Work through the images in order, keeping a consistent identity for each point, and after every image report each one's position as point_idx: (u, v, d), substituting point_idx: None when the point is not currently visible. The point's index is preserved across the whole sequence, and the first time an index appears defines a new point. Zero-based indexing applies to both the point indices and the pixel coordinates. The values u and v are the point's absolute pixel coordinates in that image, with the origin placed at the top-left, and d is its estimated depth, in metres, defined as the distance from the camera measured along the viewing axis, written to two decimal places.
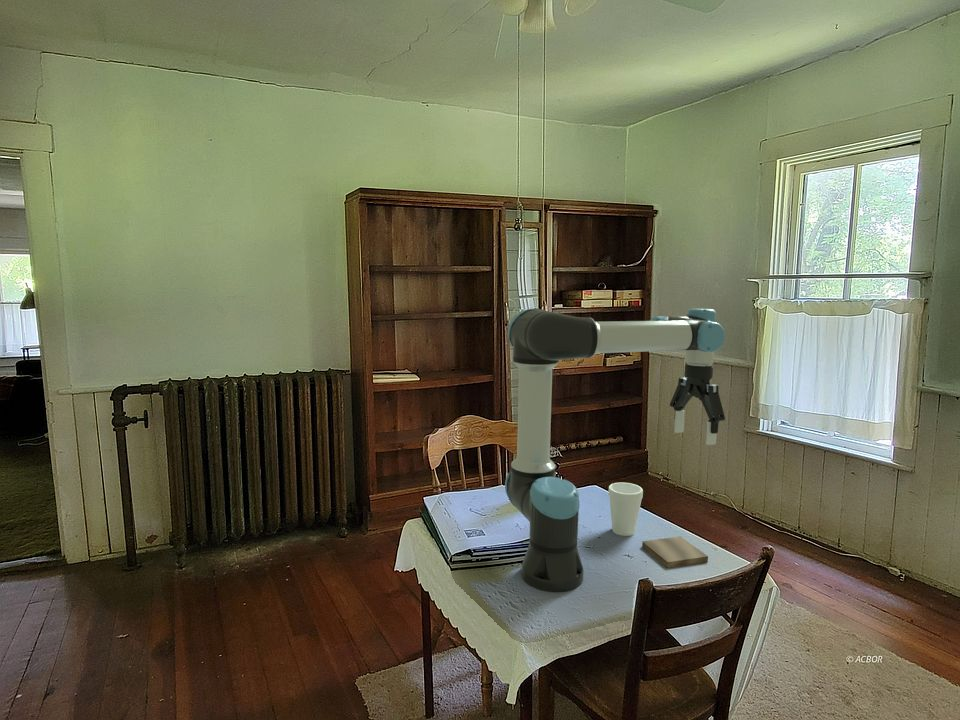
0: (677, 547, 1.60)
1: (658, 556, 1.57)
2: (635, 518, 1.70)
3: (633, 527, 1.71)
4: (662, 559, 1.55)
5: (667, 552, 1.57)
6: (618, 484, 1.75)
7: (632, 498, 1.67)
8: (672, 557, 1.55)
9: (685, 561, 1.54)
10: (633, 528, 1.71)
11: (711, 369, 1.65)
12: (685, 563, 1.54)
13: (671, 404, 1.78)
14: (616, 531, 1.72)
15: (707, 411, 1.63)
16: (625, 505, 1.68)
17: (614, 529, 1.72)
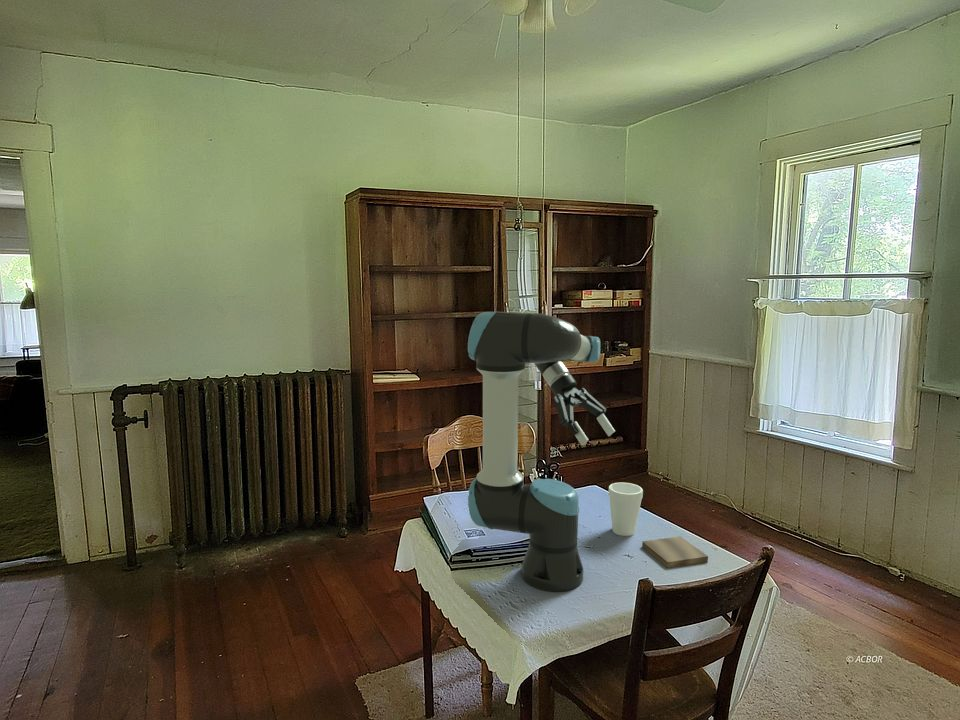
0: (677, 547, 1.60)
1: (658, 556, 1.57)
2: (635, 518, 1.70)
3: (633, 527, 1.71)
4: (662, 559, 1.55)
5: (667, 552, 1.57)
6: (618, 484, 1.75)
7: (632, 498, 1.67)
8: (672, 557, 1.55)
9: (685, 561, 1.54)
10: (633, 528, 1.71)
11: None
12: (685, 563, 1.54)
13: (567, 419, 1.72)
14: (616, 531, 1.72)
15: (596, 407, 1.83)
16: (625, 505, 1.68)
17: (614, 529, 1.72)
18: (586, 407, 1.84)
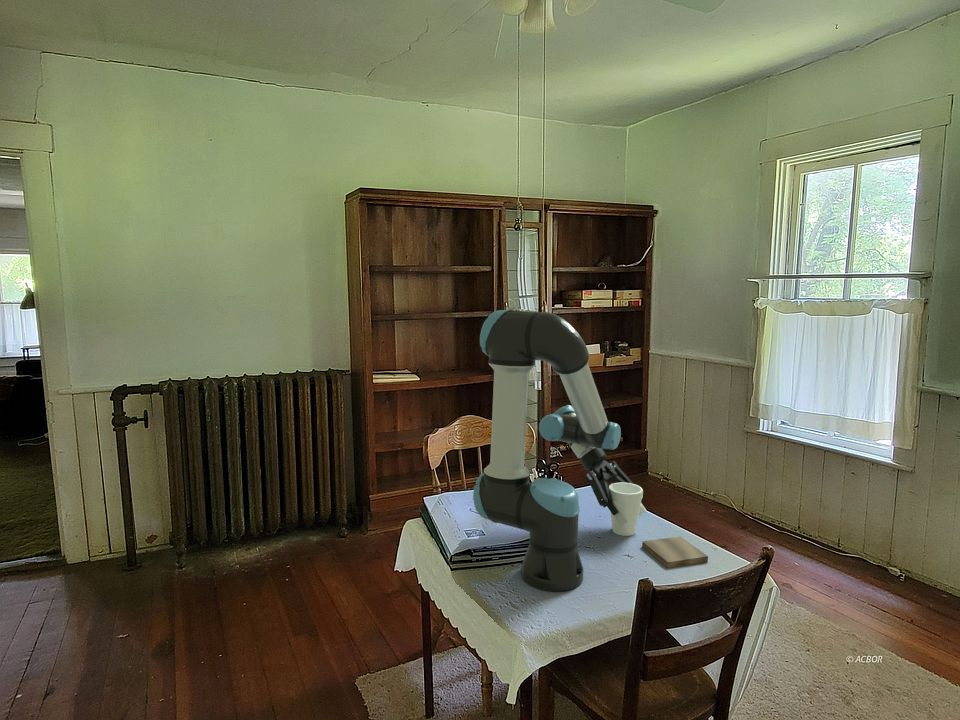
0: (677, 547, 1.60)
1: (658, 556, 1.57)
2: (635, 518, 1.70)
3: (633, 527, 1.71)
4: (662, 559, 1.55)
5: (667, 552, 1.57)
6: (618, 484, 1.75)
7: (632, 498, 1.67)
8: (672, 557, 1.55)
9: (685, 561, 1.54)
10: (633, 528, 1.71)
11: None
12: (685, 563, 1.54)
13: (606, 499, 1.68)
14: (616, 531, 1.72)
15: None
16: (625, 505, 1.68)
17: (614, 529, 1.72)
18: (615, 482, 1.77)
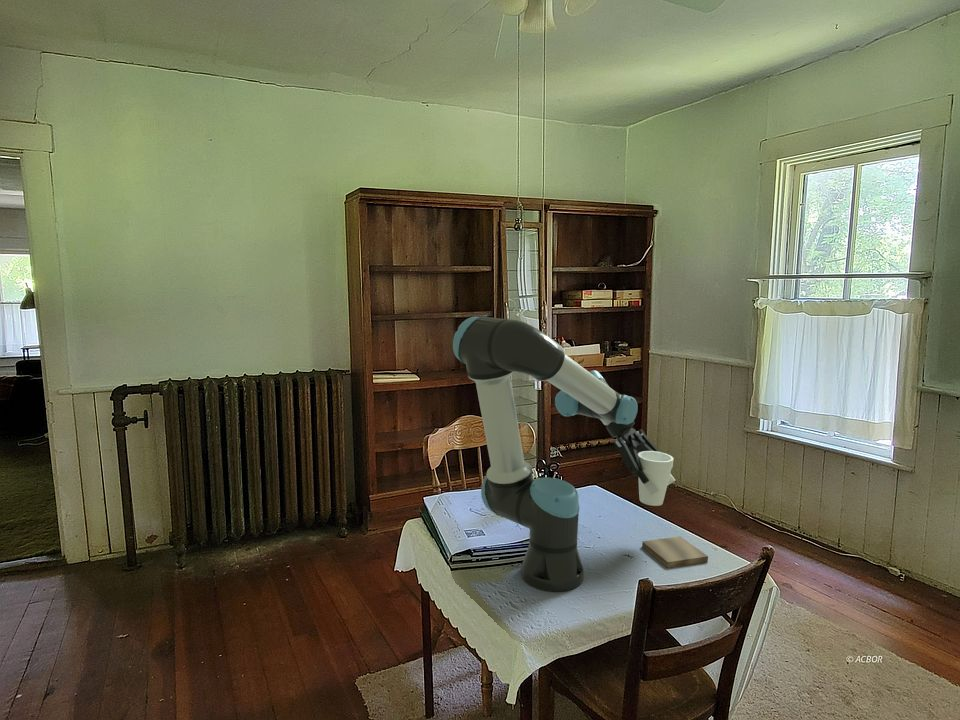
0: (677, 547, 1.60)
1: (658, 556, 1.57)
2: (665, 487, 1.63)
3: (662, 497, 1.64)
4: (662, 559, 1.55)
5: (667, 552, 1.57)
6: (646, 452, 1.68)
7: (663, 466, 1.60)
8: (672, 557, 1.55)
9: (685, 561, 1.54)
10: (662, 498, 1.64)
11: None
12: (685, 563, 1.54)
13: (636, 467, 1.60)
14: (644, 501, 1.64)
15: None
16: (655, 474, 1.61)
17: (642, 499, 1.65)
18: None
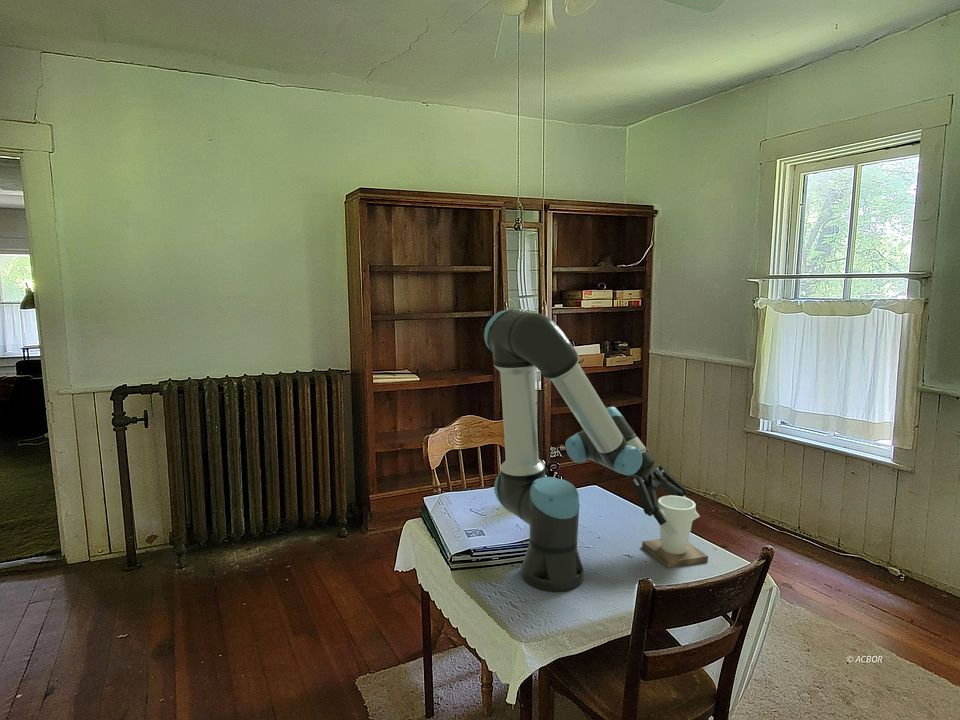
0: None
1: (658, 556, 1.57)
2: (687, 535, 1.56)
3: (685, 545, 1.57)
4: (662, 559, 1.55)
5: (667, 552, 1.57)
6: (667, 497, 1.62)
7: (685, 514, 1.53)
8: (672, 557, 1.55)
9: (685, 561, 1.54)
10: (685, 546, 1.57)
11: None
12: (685, 563, 1.54)
13: (652, 507, 1.53)
14: (666, 549, 1.58)
15: (676, 488, 1.64)
16: (677, 522, 1.54)
17: (664, 546, 1.58)
18: (665, 488, 1.64)
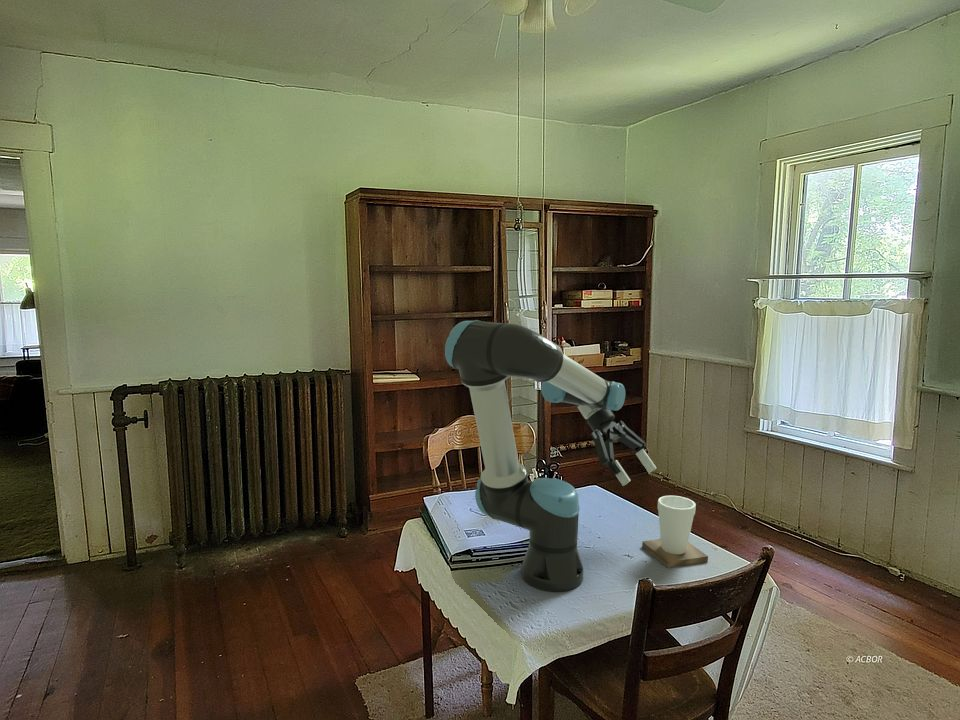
0: None
1: (658, 556, 1.57)
2: (687, 535, 1.56)
3: (685, 545, 1.57)
4: (662, 559, 1.55)
5: (667, 552, 1.57)
6: (667, 497, 1.62)
7: (685, 513, 1.54)
8: (672, 557, 1.55)
9: (685, 561, 1.54)
10: (685, 546, 1.57)
11: None
12: (685, 563, 1.54)
13: (607, 458, 1.60)
14: (666, 549, 1.58)
15: (635, 442, 1.72)
16: (677, 521, 1.54)
17: (664, 546, 1.58)
18: (625, 442, 1.72)
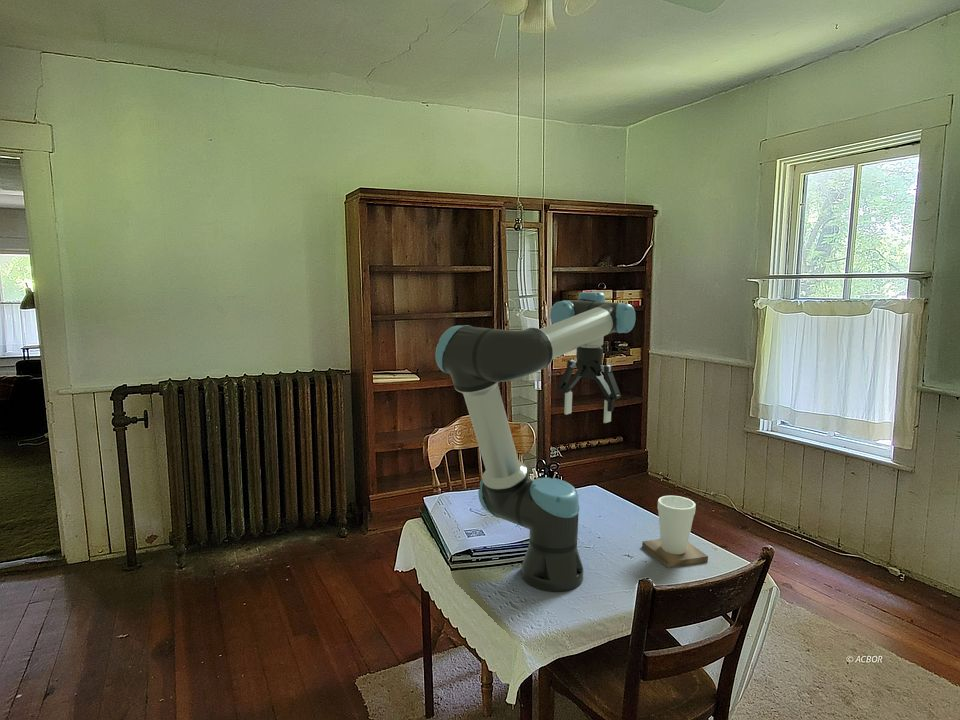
0: None
1: (658, 556, 1.57)
2: (687, 535, 1.56)
3: (685, 545, 1.57)
4: (662, 559, 1.55)
5: (667, 552, 1.57)
6: (667, 497, 1.62)
7: (685, 513, 1.54)
8: (672, 557, 1.55)
9: (685, 561, 1.54)
10: (685, 546, 1.57)
11: (602, 350, 1.71)
12: (685, 563, 1.54)
13: (559, 387, 1.80)
14: (666, 549, 1.58)
15: (603, 391, 1.70)
16: (677, 521, 1.54)
17: (664, 546, 1.58)
18: None
